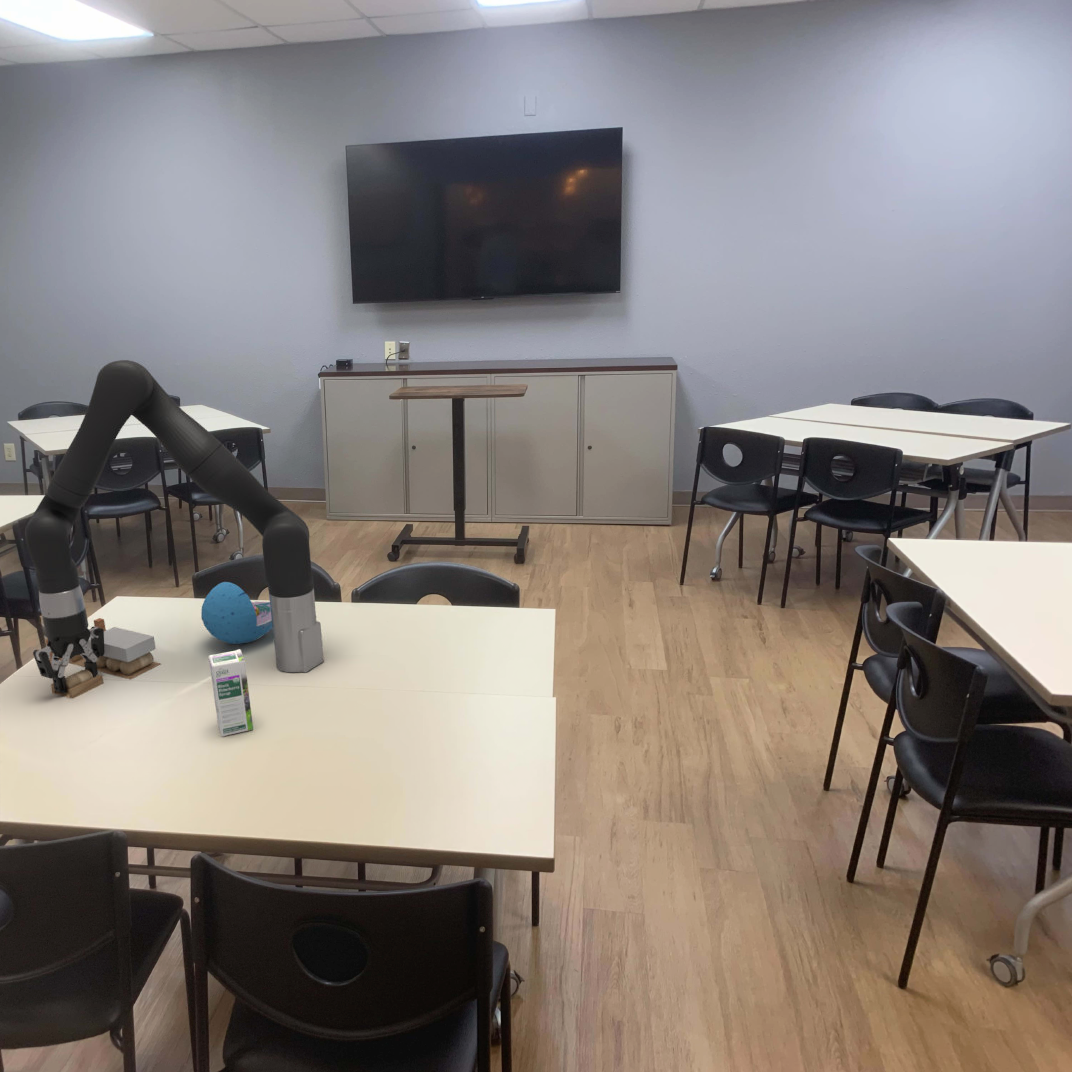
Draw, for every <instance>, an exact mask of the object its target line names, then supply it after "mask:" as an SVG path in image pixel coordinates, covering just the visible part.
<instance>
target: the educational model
mask: <svg viewBox="0 0 1072 1072" xmlns="http://www.w3.org/2000/svg"><path fill="white" fill-rule="evenodd" d="M201 605H202V606H201V620H202V623H203V626H204V627H205V629H206V630H207V631H208V633H209V634H210V635H211V636H212V637H214V638H215V639H216V640H219V641H221V642H224V643H227V644H231V645H233V644H234V645H237V644H238V645H240V644H241V645H242V644H246V643H247V644H248V643H252V642H254V641H256V640H258V639H259V638H261V637H263V636H264V635H266V634H267V633H268V632H270V630H272V629H273V628H272V619H271V609H270V601H256V600H255V601H253V602H252V600H251V598H250V597H249V595H248V594H247V593H245V591H244V590H243V589H242V588H241V587H240V586H238V585H237V584H235V583H232V582H229V581H223V582H222V581H221V582H220V583H218V584H217V585H216V586H214V587H213V588H212V589H211V590H210V591H209V592H208V594H207V595H206V597H205V599H204V601H203V603H202V604H201Z"/></svg>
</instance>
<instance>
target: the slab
mask: <svg viewBox="0 0 1072 1072" xmlns="http://www.w3.org/2000/svg"><path fill="white" fill-rule="evenodd" d="M87 644H88V645H89V647H90V648H91V638H89V640H88V642H87ZM155 650H156V643H155V637H154V636H153V635H149V634H145V633H142V632H141V633H140V632H136V631H133V630H128V629H125V628H120V627H117V626H114V627H112V628H109V629H106V631H104V651H105V653H104V655H103V656H106V657H109V658H113V659H117V660H121V661H125V662H130V661H132V660H134V659H136V658H138V657H140V656H142V655H144V654H147V653H149V652H150V653H151V652H153V651H155Z"/></svg>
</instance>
